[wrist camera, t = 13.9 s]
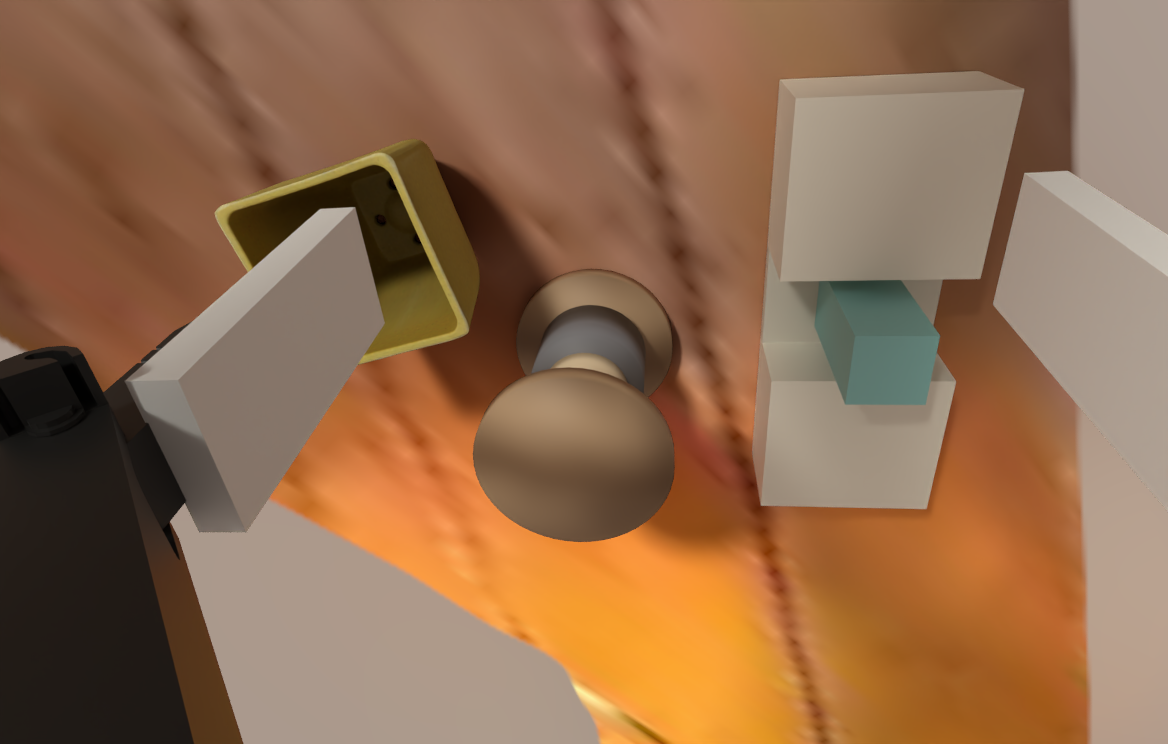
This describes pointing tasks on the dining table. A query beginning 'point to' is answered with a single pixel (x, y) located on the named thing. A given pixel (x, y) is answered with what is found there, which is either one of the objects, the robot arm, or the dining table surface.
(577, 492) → the door knob
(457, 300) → the flower pot
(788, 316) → the notched board
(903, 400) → the block
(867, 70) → the dining table surface
